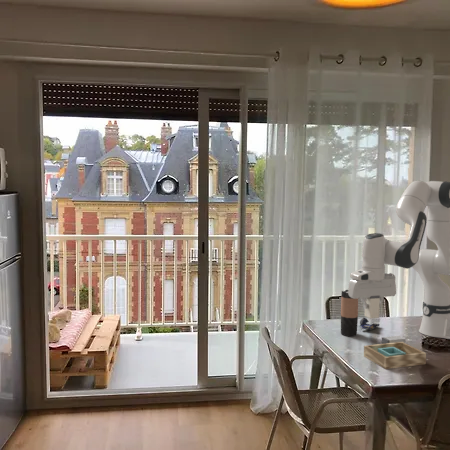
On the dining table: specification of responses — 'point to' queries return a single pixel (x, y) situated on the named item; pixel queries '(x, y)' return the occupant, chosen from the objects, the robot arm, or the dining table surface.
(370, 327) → the snack package
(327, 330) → the dining table surface
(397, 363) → the birch crate
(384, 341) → the grey plug
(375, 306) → the ivory connector
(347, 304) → the travel mug
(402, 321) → the dining table surface
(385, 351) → the teal socket
